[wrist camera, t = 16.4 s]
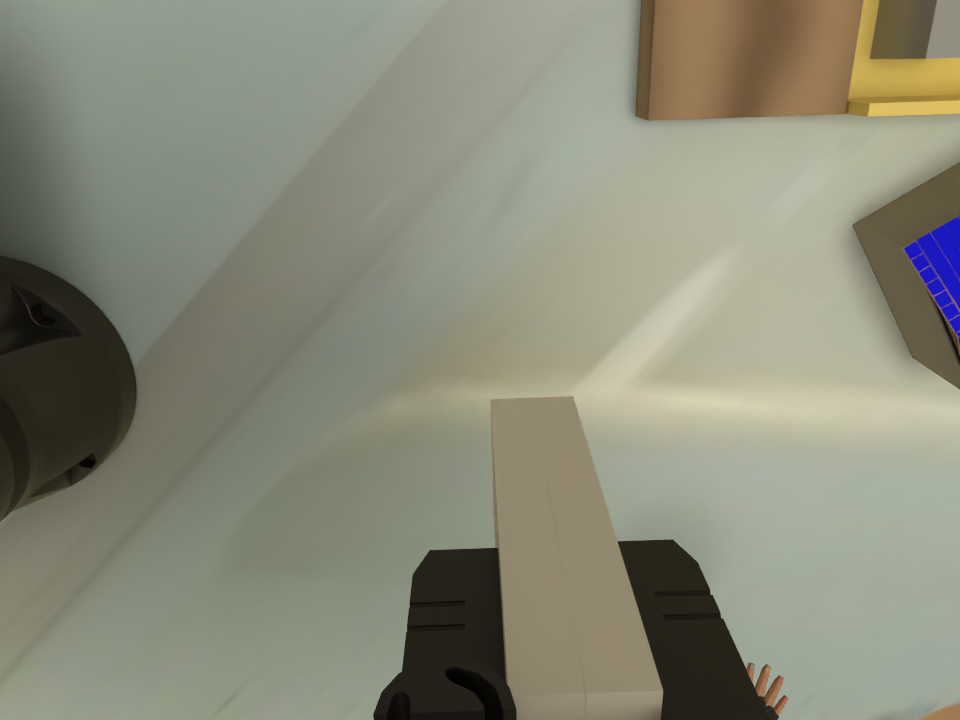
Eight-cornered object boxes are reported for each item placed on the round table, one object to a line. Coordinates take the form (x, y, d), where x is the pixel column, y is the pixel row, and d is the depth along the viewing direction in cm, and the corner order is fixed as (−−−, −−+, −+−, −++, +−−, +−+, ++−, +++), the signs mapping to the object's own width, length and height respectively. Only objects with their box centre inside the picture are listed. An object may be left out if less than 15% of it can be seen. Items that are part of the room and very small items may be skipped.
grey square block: (925, 58, 33) (990, 56, 33) (950, -67, 31) (1019, -69, 31) (869, 59, 37) (926, 57, 37) (887, -50, 36) (948, -52, 36)
